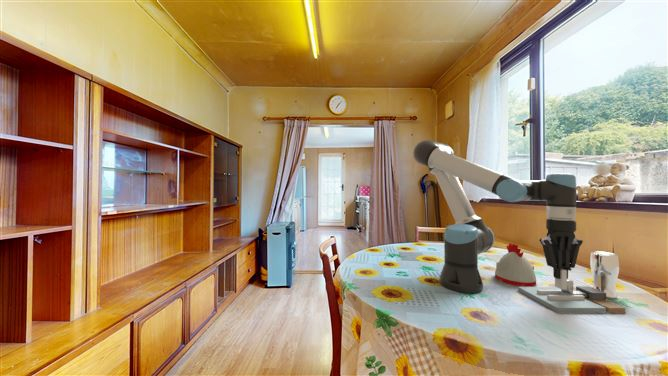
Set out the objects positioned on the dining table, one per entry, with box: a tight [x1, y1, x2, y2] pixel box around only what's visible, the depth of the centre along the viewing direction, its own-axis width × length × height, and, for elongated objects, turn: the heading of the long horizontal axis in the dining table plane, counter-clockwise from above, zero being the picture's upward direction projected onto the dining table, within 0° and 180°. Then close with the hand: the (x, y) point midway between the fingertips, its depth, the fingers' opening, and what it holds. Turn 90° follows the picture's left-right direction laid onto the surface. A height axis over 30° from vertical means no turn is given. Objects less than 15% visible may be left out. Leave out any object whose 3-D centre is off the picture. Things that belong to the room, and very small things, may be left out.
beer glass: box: [589, 250, 620, 299], centre depth 88 cm, size 7×7×15 cm
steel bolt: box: [559, 279, 589, 297], centre depth 83 cm, size 10×3×5 cm, turn 90°
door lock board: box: [517, 285, 626, 314], centre depth 83 cm, size 21×16×4 cm
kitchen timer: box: [494, 243, 537, 287], centre depth 102 cm, size 14×14×15 cm
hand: (560, 287), depth 83 cm, fingers closed
